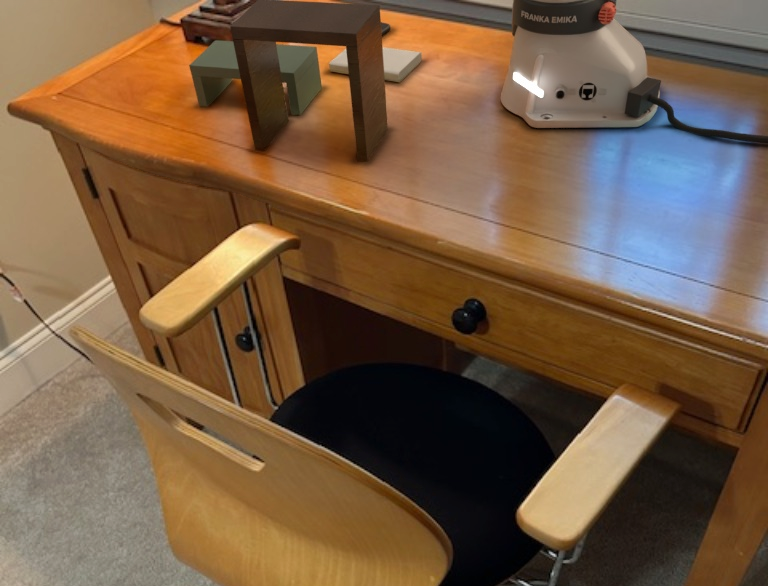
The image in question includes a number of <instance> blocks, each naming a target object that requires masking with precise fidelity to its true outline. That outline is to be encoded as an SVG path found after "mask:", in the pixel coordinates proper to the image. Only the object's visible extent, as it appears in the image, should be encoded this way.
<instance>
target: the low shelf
mask: <svg viewBox="0 0 768 586" xmlns="http://www.w3.org/2000/svg"><path fill="white" fill-rule="evenodd" d="M276 46H277V52H278V59H279V65H280V71H281V77H282V83H283V84H286V91H287V97H288V104H289V109H290V114H291V115H293V116H301V115H302V114H303V112H304V111H305V110H306V109H307V108H308V106H309V105H310V104H311V103H312V101H313V100H314V99H315V98H316V96H318V94H319V92H321V90H322V89H323V87H322V78H321V70H320V62H319V55H318V48H317V46H308V45H296V44H295V45H293V44H279V43H276ZM188 66H189V71H190V75H191V78H192V82H193V87H194V91H195V95H196V98H197V102H198V106H199V107H206V108H208V107H209V106H210V105H211V104H212V103H213V102H215V100H216V99H217V98H218V97H219V96H220V95H221V94H222V93H223V92H224V91H225V89H226V88H228V86H230V84H231V83H232V82H233V80H241V78H240V73H239V68H238V63H237V58H236V53H235V48H234V43H233V40H232V41H231V40H220V39H219V40H217V39H216V40H214V41H213V42H212V43H211V44H210V45H209V46H208V47H206V48H205V50H204V51H202V52H201V53H200V54H199V55H198V56H197V57H196V58H195V59H194V60H193V61H192V62H191V63H190V64H189V65H188Z"/></svg>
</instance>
